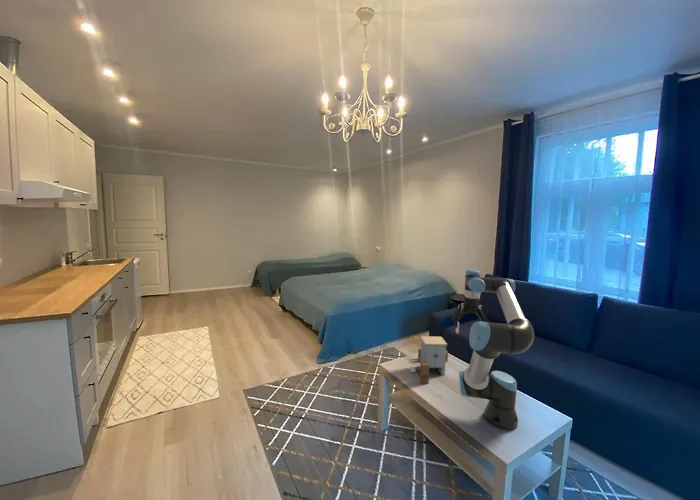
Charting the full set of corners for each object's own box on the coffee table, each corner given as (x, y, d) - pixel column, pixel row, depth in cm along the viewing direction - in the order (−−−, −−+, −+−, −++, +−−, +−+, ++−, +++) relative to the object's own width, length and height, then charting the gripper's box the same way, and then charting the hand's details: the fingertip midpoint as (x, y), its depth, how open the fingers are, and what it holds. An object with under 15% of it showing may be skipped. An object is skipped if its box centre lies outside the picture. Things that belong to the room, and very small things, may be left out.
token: (417, 373, 191) (418, 370, 191) (410, 373, 192) (410, 370, 191) (416, 369, 196) (416, 367, 196) (409, 369, 197) (409, 366, 196)
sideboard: (445, 376, 188) (447, 344, 186) (424, 376, 188) (425, 344, 186) (439, 366, 201) (441, 336, 198) (419, 365, 201) (420, 336, 198)
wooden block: (428, 383, 179) (429, 364, 178) (421, 383, 179) (422, 364, 178) (422, 369, 196) (422, 352, 195) (416, 369, 196) (416, 352, 195)
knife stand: (447, 361, 207) (448, 352, 207) (419, 361, 207) (419, 351, 206) (445, 358, 211) (446, 349, 210) (417, 358, 211) (418, 349, 210)
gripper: (489, 295, 171) (487, 330, 173) (447, 294, 171) (445, 330, 173) (496, 299, 164) (493, 335, 166) (451, 298, 163) (449, 335, 166)
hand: (468, 333), depth 170 cm, fingers open, 13 cm apart
